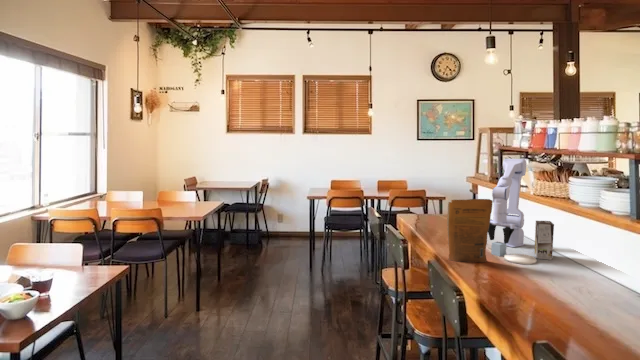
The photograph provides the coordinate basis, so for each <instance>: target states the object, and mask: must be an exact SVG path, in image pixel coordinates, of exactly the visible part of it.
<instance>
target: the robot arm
mask: <svg viewBox="0 0 640 360" xmlns="http://www.w3.org/2000/svg"><path fill="white" fill-rule="evenodd" d="M502 168H503V171H504V173H503V175H502V176H501V177H500V178H499V180H498V182H497V184H496V186H495V187H493V188H492V192H491V196H492V201H493V210H492V211H493V215H492V217H493V218H492V219H490V225H489V229H488V233H487V234H488V236H489V240H490V241H494V240H495V237H496V236H495V234H496V229H497V227H502V231H503V232H502V233H503V243H505V244H506V247H510V248H518V247H522V246H526V244H525V243H524V241H525V240H524V239H525V237H524V236H525V232H524V230H523V227H524V224H525V214H524V213H523V211H521V210H520V209H519V203H520V193H521V180H522V178H523V177H524V176H526V172H527V160H526V159H525V158H504V159H503V161H502Z"/></svg>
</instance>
